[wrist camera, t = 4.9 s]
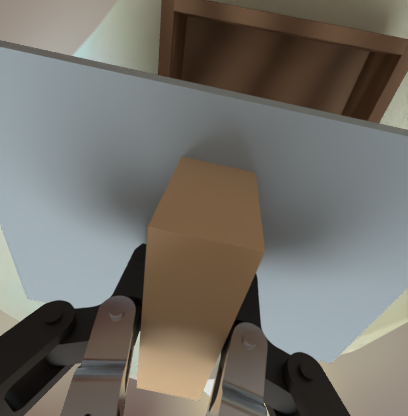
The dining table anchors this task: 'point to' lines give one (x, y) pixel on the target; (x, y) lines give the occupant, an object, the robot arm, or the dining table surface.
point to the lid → (198, 208)
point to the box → (281, 57)
